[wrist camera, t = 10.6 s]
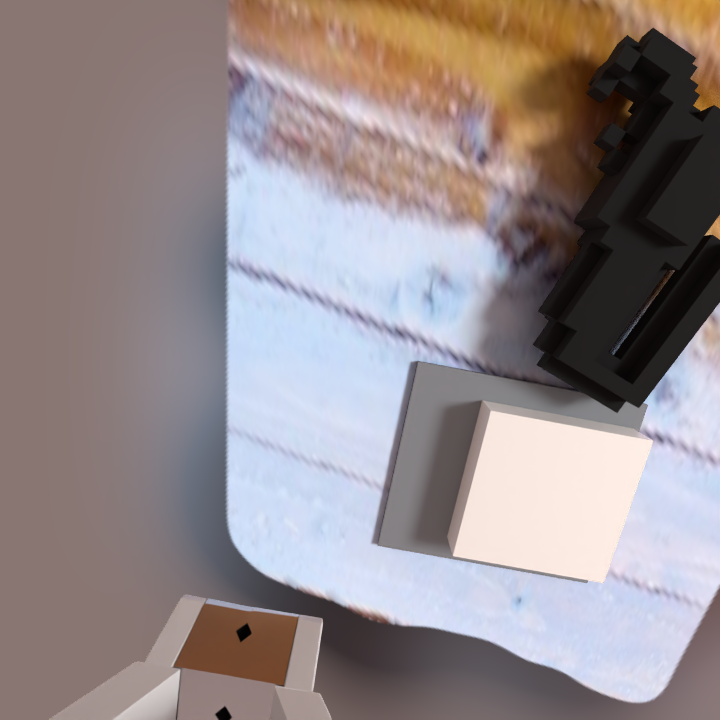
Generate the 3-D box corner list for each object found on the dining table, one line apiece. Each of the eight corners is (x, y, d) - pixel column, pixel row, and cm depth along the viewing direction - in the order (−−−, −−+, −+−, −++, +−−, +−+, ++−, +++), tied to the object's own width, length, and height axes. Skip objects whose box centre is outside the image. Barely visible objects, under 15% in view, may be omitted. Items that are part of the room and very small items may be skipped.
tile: (452, 556, 34) (603, 583, 34) (490, 410, 32) (653, 440, 32) (447, 536, 36) (587, 561, 37) (482, 400, 34) (632, 428, 34)
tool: (457, 316, 28) (648, 431, 29) (662, -5, 24) (870, 144, 25) (443, 309, 33) (605, 406, 34) (609, 44, 29) (784, 165, 31)
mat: (377, 542, 37) (377, 545, 37) (417, 360, 34) (418, 362, 33) (584, 579, 38) (587, 583, 37) (644, 403, 34) (647, 405, 34)
